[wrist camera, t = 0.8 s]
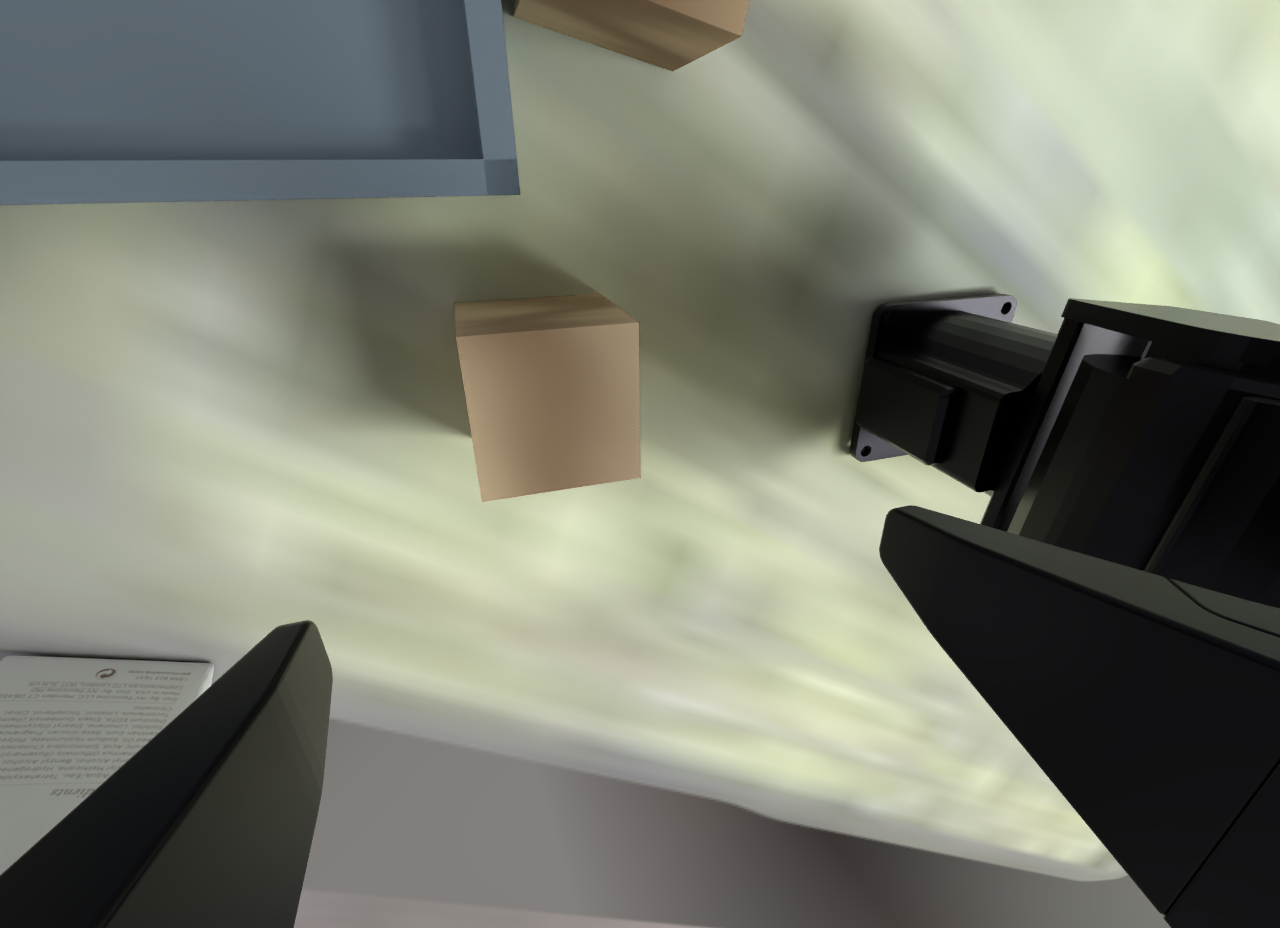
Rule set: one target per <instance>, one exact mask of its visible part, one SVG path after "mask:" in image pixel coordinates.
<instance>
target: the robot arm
mask: <svg viewBox="0 0 1280 928" xmlns="http://www.w3.org/2000/svg"><path fill="white" fill-rule="evenodd" d="M1016 305H1017V301H1016V298H1015V297H1014V296H1011V295H1006V294H991V295H979V296H967V297H954V298H942V299H930V300H918V301H905V302H893V303H885V304H881V305H880V306H879V307H878V308H877V309H876V310H875V312H874V314H873V317H872V322H871V328H870V334H869V340H868V346H867V352H866V358H865V364H864V370H863V375H862V381H861V387H860V393H859V399H858V405H857V411H856V417H855V423H854V428H853V434H852V440H851V446H850V454H851V456H853V457H854V458H856V459H857V460H859V461H860V462H866V461H872V460H878V459H884V458H890V457H896V456H902V455H910V456H912V457H913V458H915V459H917V460H919V461H920V462H922V463H924V464H925V465H931V466H933V467H934V468H936V469H938V470H940V471H941V472H943V473H945V474H946V475H948V476H950V477H952V478H953V479H955V480H957V481H959V482H960V483H962V484H964V485H965V486H967V487H969V488H971V489H972V490H974V491H976V492H984V493H986V494H988V495H989V496H991V499H990V501H989V504H988V506H987V508H986V511H985V513H984V516H983V518H982V521H981V523H980V524H977V523H974V522H970V521H967V520H963V519H960V518H956V517H953V516H949V515H945V514H942V513H938V512H935V511H931V510H928V509H924V508H921V507H917V506H905V507H899V508H894V509H892V510H890V511H889V512H888V514H887V515H886V519H885V524H884V528H883V533H882V538H881V543H880V548H879V552H880V558H881V560H882V562H883V564H884V566H885V567H886V569H887V570H888V572H889V573H890V574H891V576H892V577H893V579H894V580H895V582H896V583H897V585H898V586H899V588H900V589H901V591H902V592H903V594H904V595H905V597H906V598H907V600H908V601H909V603H910V604H911V606H912V607H913V608H914V610H915V611H916V613H917V614H918V616H919V617H920V619H921V620H922V622H923V623H924V625H925V626H926V627H927V629H928V630H929V632H930V633H931V634H932V636H933V637H934V638H935V640H936V641H937V642H938V643H939V645H940V646H941V647H942V648H943V650H944V651H945V652H946V653H947V654H948V656H949V657H950V658H951V659H952V661H953V662H954V663H955V664H956V665H957V667H958V668H959V669H960V670H961V672H962V673H963V674H964V675H965V676H966V678H967V679H968V680H969V681H970V682H971V684H972V685H973V686H974V687H975V689H976V690H977V691H978V692H979V693H980V695H981V696H982V697H983V698H984V700H985V701H986V702H987V703H988V704H989V706H990V707H991V708H992V709H993V711H994V712H995V713H996V714H997V715H998V717H999V718H1000V719H1001V720H1002V721H1003V723H1004V724H1005V725H1006V726H1007V728H1008V729H1009V730H1010V731H1011V732H1012V734H1013V735H1014V736H1015V737H1016V739H1017V740H1018V741H1019V742H1020V743H1021V745H1022V746H1023V747H1024V748H1025V749H1026V751H1027V752H1028V753H1029V754H1030V756H1031V757H1032V758H1033V759H1034V760H1035V762H1036V763H1037V764H1038V765H1039V767H1040V768H1041V769H1042V770H1043V771H1044V773H1045V774H1046V775H1047V776H1048V777H1049V779H1050V780H1051V781H1052V782H1053V784H1054V785H1055V786H1056V787H1057V788H1058V790H1059V791H1060V792H1061V793H1062V795H1063V796H1064V797H1065V798H1066V799H1067V801H1068V802H1069V803H1070V804H1071V806H1072V807H1073V808H1074V809H1075V810H1076V812H1077V813H1078V814H1079V815H1080V816H1081V818H1082V819H1083V820H1084V821H1085V823H1086V824H1087V825H1088V826H1089V827H1090V829H1091V830H1092V831H1093V832H1094V834H1095V835H1096V836H1097V837H1098V838H1099V840H1100V841H1101V842H1102V843H1103V844H1104V846H1105V847H1106V848H1107V849H1108V851H1109V852H1110V853H1111V854H1112V855H1113V857H1114V858H1115V859H1116V860H1117V862H1118V863H1119V864H1120V865H1121V866H1122V868H1123V869H1124V870H1125V871H1126V872H1127V874H1128V875H1129V876H1130V877H1131V879H1132V880H1133V881H1134V882H1135V883H1136V885H1137V886H1138V887H1139V888H1140V890H1141V891H1142V892H1143V893H1144V894H1145V896H1146V897H1147V898H1148V899H1149V901H1151V903H1152V904H1153V905H1154V907H1156V909H1157V910H1158V911H1159V912H1160V913H1161V914H1163V915H1164V919H1165V921H1166V922H1167V923H1168V924H1169V926H1170V927H1171V928H1280V324H1276V323H1272V322H1268V321H1263V320H1257V319H1250V318H1244V317H1237V316H1231V315H1224V314H1217V313H1211V312H1204V311H1198V310H1191V309H1185V308H1178V307H1170V306H1158V305H1146V304H1133V303H1121V302H1109V301H1096V300H1084V299H1071V298H1069V299H1068V302H1067V304H1066V306H1065V309H1064V311H1063V314H1062V316H1061V317H1064V321H1063V323H1062V325H1061V328H1060V330H1059V333H1058V334H1054V333H1050V332H1046V331H1042V330H1038V329H1033V328H1029V327H1025V326H1021V325H1017V324H1013V323H1012V320H1013V317H1014V313H1015V310H1016ZM1002 306H1003V307H1002ZM1001 308H1002V309H1001ZM888 313H889V318H888V320H887V321H886V322H885V317H886V315H887V314H888ZM864 447H865V449H864V450H863V451H862V452H861V450H862V449H863V448H864ZM332 681H333V679H332V668H331V664H330V661H329V658H328V655H327V653H326V650H325V647H324V644H323V642H322V639H321V636H320V633H319V630H318V628H317V626H316V625H315V624H314V622H312V621H309V620H306V621H301V622H296V623H290V624H285V625H281V626H278V627H276V628H275V629H274V630H272V631H271V632H270V633H269V634H268V635H267V636H266V637H265V638H264V639H262V640H261V641H260V642H259V643H258V644H257V645H256V646H255V647H253V648H252V649H251V650H250V651H249V652H248V653H247V654H246V655H245V656H243V657H242V658H241V659H240V660H239V661H238V662H237V663H236V664H235V665H233V666H232V667H231V668H230V669H229V670H228V671H227V672H226V673H225V674H223V675H222V676H221V677H220V678H219V679H218V680H217V681H216V682H215V683H213V684H212V685H211V686H210V687H209V688H208V689H207V690H206V691H205V692H203V693H202V694H201V695H200V696H199V697H198V698H197V699H196V700H195V701H193V702H192V703H191V704H190V705H189V706H188V707H187V708H186V709H185V710H183V711H182V712H181V713H180V714H179V715H178V716H177V717H176V718H175V719H173V720H172V721H171V722H170V723H169V724H168V725H167V726H166V727H165V728H163V729H162V730H161V731H160V732H159V733H158V734H157V735H156V736H155V737H153V738H152V739H151V740H150V741H149V742H148V743H147V744H146V745H145V746H143V747H142V748H141V749H140V750H139V751H138V752H137V753H136V754H135V755H133V756H132V757H131V758H130V759H129V760H128V761H127V762H126V763H125V764H123V765H122V766H121V767H120V768H119V769H118V770H117V771H116V772H115V773H113V774H112V775H111V776H110V777H109V778H108V779H107V780H106V781H104V782H103V783H102V784H101V785H100V786H99V787H98V788H97V789H96V790H94V791H93V792H92V793H91V794H90V795H89V796H88V797H87V798H86V799H84V800H83V801H82V802H81V803H80V804H79V805H78V806H77V807H76V808H74V809H73V810H72V811H71V812H70V813H69V814H68V815H67V816H66V817H64V818H63V819H62V820H61V821H60V822H59V823H58V824H57V825H56V826H54V827H53V828H52V829H51V830H50V831H49V832H48V833H47V834H46V835H44V836H43V837H42V838H41V839H40V840H39V841H38V842H37V843H36V844H34V845H33V846H32V847H31V848H30V849H29V850H28V851H27V852H26V853H24V854H23V855H22V856H21V857H20V858H19V859H18V860H17V861H15V862H14V863H13V864H12V865H11V866H10V867H9V868H8V869H7V870H5V871H4V872H3V873H2V874H1V875H0V928H294V923H295V918H296V914H297V909H298V904H299V900H300V895H301V890H302V886H303V881H304V876H305V872H306V867H307V862H308V858H309V853H310V848H311V843H312V839H313V834H314V829H315V825H316V819H317V815H318V810H319V805H320V800H321V794H322V787H323V778H324V768H325V758H326V747H327V736H328V724H329V715H330V704H331V693H332Z"/></svg>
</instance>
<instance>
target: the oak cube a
mask: <svg viewBox="0 0 1280 928" xmlns="http://www.w3.org/2000/svg"><path fill="white" fill-rule="evenodd" d="M454 305H455V329H456V341H457V347H458V354H459V360H460V366H461V372H462V379H463V385H464V391H465V397H466V404H467V410H468V416H469V423H470V429H471V435H472V441H473V448H474V454H475V460H476V466H477V473H478V479H479V485H480V491H481V498H482V502H484V501H491V500H497V499H504V498H510V497H517V496H523V495H530V494H536V493H543V492H549V491H556V490H562V489H569V488H576V487H582V486H589V485H595V484H602V483H608V482H615V481H621V480H628V479H634V478H641V468H640V388H639V322H637V321H636V320H635V319H633V318H632V317H631V316H629V315H628V314H626V313H625V312H624V311H622V310H621V309H620V308H618V307H617V306H616V305H614V304H613V303H611V302H610V301H609V300H607V299H606V298H605V297H603V296H602V295H600V294H584V295H569V296H554V297H538V298H523V299H508V300H492V301H477V302H461V303H454Z"/></svg>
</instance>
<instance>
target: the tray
mask: <svg viewBox="0 0 1280 928" xmlns="http://www.w3.org/2000/svg"><path fill="white" fill-rule="evenodd" d="M488 195H520V188H519V178H518V167H517V157H516V147H515V137H514V127H513V116H512V106H511V96H510V86H509V76H508V65H507V55H506V45H505V35H504V25H503V14H502V4H501V0H0V205H26V204H77V203H128V202H180V201H231V200H282V199H334V198H385V197H436V196H488Z"/></svg>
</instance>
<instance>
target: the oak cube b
mask: <svg viewBox="0 0 1280 928" xmlns="http://www.w3.org/2000/svg"><path fill="white" fill-rule="evenodd" d="M749 2H750V0H515V9H514V17H516V18H518V19H521V20H524V21H527V22H530V23H533V24H536V25H539V26H542V27H545V28H548V29H551V30H554V31H557V32H559V33H562V34H565V35H568V36H571V37H574V38H577V39H580V40H583V41H586V42H589V43H592V44H595V45H598V46H600V47H603V48H606V49H609V50H612V51H615V52H618V53H621V54H624V55H627V56H630V57H633V58H636V59H638V60H641V61H644V62H647V63H650V64H653V65H656V66H659V67H662V68H665V69H668V70H671V71H674V70H676V69H678V68H680V67H682V66H684V65H686V64H688V63H690V62H692V61H694V60H696V59H698V58H700V57H702V56H704V55H706V54H708V53H710V52H712V51H714V50H715V49H717V48H719V47H721V46H723V45H725V44H727V43H729V42H731V41H733V40H735V39H737V38H739V37H741V36H742V32H743V28H744V23H745V19H746V15H747V10H748V6H749Z"/></svg>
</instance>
